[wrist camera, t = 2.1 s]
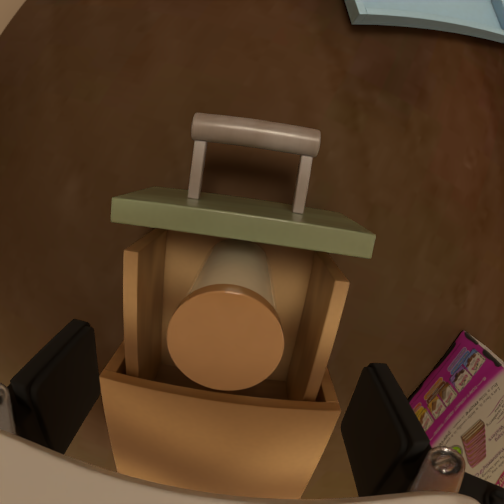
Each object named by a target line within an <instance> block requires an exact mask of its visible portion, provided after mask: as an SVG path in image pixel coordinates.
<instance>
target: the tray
mask: <svg viewBox="0 0 504 504" xmlns="http://www.w3.org/2000/svg"><path fill="white" fill-rule="evenodd" d="M344 1H345V4H346V7H347V10H348V14H349V17H350V20H351V24H362V25H388V26H403V27H414V28H423V29H432V30H439V31H446V32H452V33H458V34H464V35H469V36H474V37H479V38H483V39H488V40H492V41H496V42H500V43H504V0H344Z"/></svg>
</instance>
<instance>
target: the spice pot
mask: <svg viewBox="0 0 504 504" xmlns="http://www.w3.org/2000/svg"><path fill="white" fill-rule="evenodd" d="M166 337H167V346H168V350H169V353H170V356H171V358H172V359H173V361H174V363H175V364H176V366H177V367H178V368H179V369H180V370H181V372H183V373H184V374H185V375H186V376H187V377H188V378H190V379H191V380H193V381H195V382H196V383H198V384H200V385H203V386H205V387H208V388H212V389H217V390H225V391H232V390H241V389H245V388H249V387H252V386H254V385H256V384H258V383H260V382H262V381H263V380H265V379H266V378H267V377H268V376H270V375H271V374H272V373H273V371H274V370H275V369H276V367H277V366H278V365H279V363H280V360H281V358H282V355H283V351H284V335H283V328H282V323H281V320H280V318H279V316H278V311H277V304H276V297H275V290H274V283H273V277H272V270H271V264H270V261H269V258H268V256H267V255H266V253H265V252H264V250H263V249H262V248H261V247H260V246H258V245H257V244H256V243H254V242H251V241H244V240H237V239H226V240H223V241H221V242H219V243H217V244H215V245H214V246H213V247H212V248H211V249H210V250H209V251H208V253H207V254H206V256H205V258H204V260H203V262H202V264H201V266H200V268H199V270H198V272H197V274H196V275H195V277H194V279H193V281H192V283H191V285H190V287H189V289H188V291H187V293H186V295H185V297H184V299H183V300H182V301H181V302H180V303H179V305H178V306H177V308H176V309H175V311H174V313H173V315H172V317H171V319H170V321H169V324H168V328H167V335H166Z"/></svg>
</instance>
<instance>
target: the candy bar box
mask: <svg viewBox="0 0 504 504" xmlns="http://www.w3.org/2000/svg"><path fill="white" fill-rule="evenodd" d="M408 402H409V404H410V405H411V407H412V409H413V411H414V412H415V414H416V416H417V418H418V420H419V421H420V423H421V425H422V427H423V429H424V431H425V432H426V434H427V436H428V438H429V440H430V445H431V447H432V448H434V447H437V446H447V447H450V448H453V449H455V450H457V451H458V452H459V453H460V454H461V455H462V456H463V458H464V460H465V463H466V469H465V472H467V473H469V474H471V475H474V476H476V477H478V478H481V479H483V480H485V481H488V482H490V483H493V484H495V485H498V486H500V487H502V488H504V362H503V361H502V360H501V359H500V358H498V357H497V356H496V355H495V354H494V353H493V352H492V351H491V350H490V349H488V348H487V347H486V346H485V345H483V344H482V343H481V342H479V341H478V340H477V339H475V338H474V337H473V336H471V335H470V334H469V333H467V332H466V331H462V332H461V334H460V335H459V336H458V338H457V339H456V341H455V342H454V343H453V345H452V346H451V347H450V349H449V350H448V351H447V353H446V354H445V355H444V357H443V358H442V360H441V361H440V362H439V363H438V365H437V366H436V367H435V368H434V370H433V371H432V372H431V374H430V375H429V376H428V377H427V378H426V380H425V381H424V382H423V383H422V385H421V386H420V387H419V388H418V389H417V390H416V392H415V393H414V394H413V395H412V396H411V398H410V399H409V400H408Z"/></svg>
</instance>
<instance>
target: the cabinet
mask: <svg viewBox="0 0 504 504" xmlns="http://www.w3.org/2000/svg"><path fill="white" fill-rule="evenodd" d="M99 379H100V387H101V394H102V400H103V406H104V412H105V417H106V423H107V428H108V433H109V437H110V442H111V447H112V451H113V455H114V459H115V463H116V467H117V471H118V473H120V474H124V475H127V476H131V477H135V478H139V479H143V480H147V481H151V482H155V483H160V484H164V485H169V486H174V487H179V488H184V489H190V490H196V491H202V492H209V493H216V494H224V495H233V496H243V497H256V498H272V499H300V497H301V495H302V494H303V492H304V490H305V488H306V486H307V484H308V482H309V480H310V478H311V476H312V474H313V472H314V470H315V468H316V466H317V464H318V462H319V460H320V458H321V456H322V454H323V451H324V449H325V447H326V445H327V443H328V441H329V438H330V436H331V434H332V432H333V429H334V427H335V425H336V422H337V420H338V418H339V415H340V413H341V409H340V405H339V403H338V399H337V396H336V393H335V390H334V386H333V383H332V380H331V377H330V374H329V371H328V368H327V367H326V370H325V373H324V376H323V379H322V382H321V385H320V388H319V391H318V394H317V397H316V400H315V402H310V401H294V400H281V399H269V398H259V397H250V396H241V395H233V394H226V393H218V392H212V391H205V390H199V389H193V388H187V387H181V386H176V385H171V384H165V383H160V382H156V381H151V380H146V379H142V378H137V377H133V376H129V375H126V363H125V345H124V340H123V342H122V343H121V345H120V346H119V348H118V349H117V351H116V352H115V353H114V355H113V356H112V358H111V359H110V361H109V362H108V364H107V365H106V367H105V368H104V370H103V371H102V373H101V374H100V376H99Z"/></svg>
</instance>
